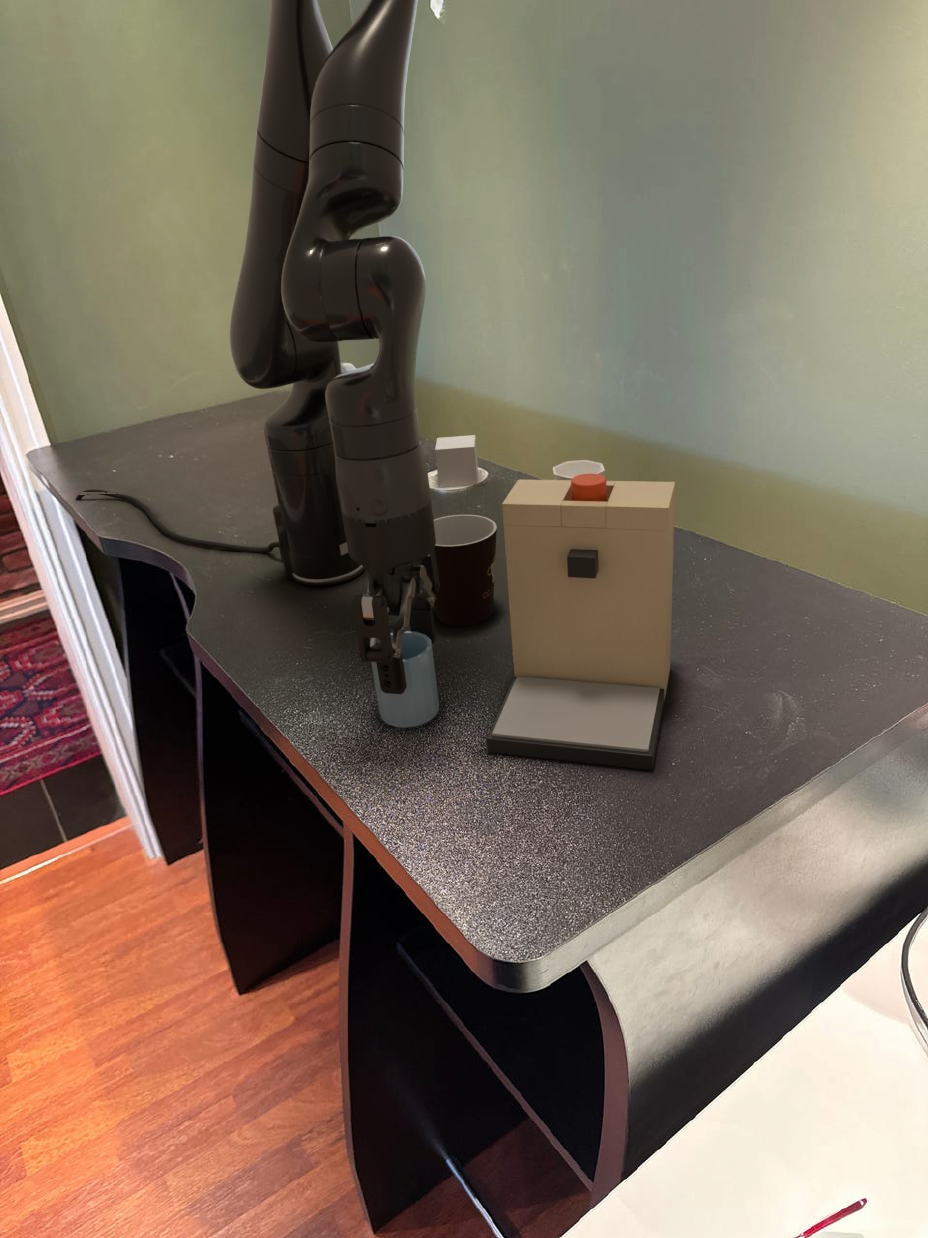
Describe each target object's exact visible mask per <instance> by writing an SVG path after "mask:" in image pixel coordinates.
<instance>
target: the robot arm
mask: <svg viewBox="0 0 928 1238" xmlns="http://www.w3.org/2000/svg"><path fill="white" fill-rule="evenodd" d="M418 3H419V1H418V0H368V1H367V2H366V4H365V5H364V7H363V9H362V10H361V12H360V13H359V15H358V16H357V17H356V19H355V20H354V21H353V22H352V24H351V26H350V27H349V28H348V29H347V30H346V32H345V33H344V34H343V35H342V37H341V38H340V39H339V40H338V41H337V43H336V44H335V46H334V47H333V45H332V43H331V40H330V35H329V33H328V31H327V27H326V23H325V19H324V16H323V13H322V9H321V5H320V0H271V1H270V14H269V27H268V37H267V38H268V39H267V45H266V55H265V63H264V72H263V80H262V87H261V95H260V103H259V108H258V116H257V122H256V132H255V133H256V134H255V142H254V143H255V144H254V154H253V165H252V181H251V182H252V183H251V194H250V195H251V197H250V205H249V215H248V221H247V222H248V224H247V231H246V237H245V245H244V253H243V258H242V261H241V267H240V271H239V276H238V281H237V286H236V291H235V295H234V299H233V300H234V301H233V305H232V311H231V317H230V325H229V345H230V352H231V358H232V361H233V363H234V364H233V365H234V367H235V370H236V371H237V374H238V375H239V377H240V378H241V379H242V380H243V382H244V383H246V384H247V385H248V386H250V387H252V388H254V389H258V390H268V389H277V388H281V387H284V386H287V385H292V388H291V390H290V393H289V394H288V396H287V397H286V399H285V400H284V401H283V402H282V403H281V405H280V406H278V407H277V409H275V410H274V411H273V412H271V413H270V414H269V415H268V416H267V417H266V419H265V420H264V422H263V433H264V434H263V435H264V439H265V444H266V449H267V453H268V454H267V455H268V458H269V463H270V469H271V473H272V478H273V483H274V488H275V493H276V494H275V495H276V498H277V504H275V505H274V507H273V508H272V514H273V515H272V516H273V519H274V524H275V528H276V534H277V539H278V541H273V542H270V543H269V544H268V546H263V547H256V546H255V547H253V546H243V545H237V544H230V543H226V542H225V543H223V542H217V541H210V540H205V539H204V540H203V539H198V538H197V539H196V538H192V537H187V536H184V535H180V534H178V533H175V532H173V531H171V530H170V529H169V528H167V527H166V526H164V524H163V523H162V522H160V520H159V519H157V517H156V516H155V515H154V514H153V512H152V511H151V509H150V508H149V507H148V506H147V505H145V504H144V503H143V502H141V501H140V500H138V499H137V498H135V497H134V496H131V495H128V494H123V493H118V492H115V493H116V494H99V496H106V497H110V498H115V499H119V500H120V499H121V500H125V501H128V502H132V503H133V504H135V505H136V506H137V507H138V508H140V509H141V510H143V512H144V513H145V514H146V515H147V517H148V518H149V520H150V521H151V522H152V523H153V524H154V525H155V526H156V527H157V529H159V530H160V531H161V532H162V533H164V534H165V535H166V536H168V537H170V538H172V539H174V540H176V541H180V542H183V543H185V544H190V545H195V546H201V547H208V548H215V549H222V550H228V551H233V552H242V553H255V554H256V553H257V554H266V553H267V554H268V553H271V552H273V550H274V549H275V548H278V551H279V555H280V559H281V562H282V563H283V567H284V572H285V578H286V579H289V580H294V581H295V582H296V583H298V584H301V585H305V586H310V587H311V586H313V587H325V586H331V585H336V584H337V585H338V584H341V583H344V582H347V581H350V580H353V579H354V578H356V577H357V576H359V575H360V574H362V573H363V572H364V571H365V570H367V572H368V575H367V577H368V580H367V590H366V591H367V593H365V594H354V596H353V598H352V608H353V614H354V622H355V628H356V629H355V630H356V637H357V642H358V643H357V644H358V649H359V650H358V651H359V656H360V657H359V658H360V660H361V662H363V663H371V662H376V664H377V670H378V676H379V682H380V688H381V690H382V691H383V692H384V693H390V694H403V693H404V691H405V689H406V688H407V684H406V678H405V671H404V664H403V658H402V654H401V648H402V638H403V633H404V632H406V631H409V629H410V631H413V632H419V633H422V634H425V635H426V636H427V637H429V638H430V639H431V643H432V645H433V644H434V643H435V641H436V640H437V635H436V634H437V633H436V628H435V627H436V626H435V618H434V611H433V607H435V606H434V603H435V597H434V594H433V592H438V591H439V588H440V583H439V576H438V570H437V563H436V556H435V549H434V547H435V544H436V536H435V528H434V512H433V505H432V496H431V489H430V479H429V473H428V467H427V462H426V458H425V455H424V449H423V446H422V441H421V439H422V438H421V432H420V423H419V415H418V409H417V408H418V407H417V399H416V367H417V354H418V344H419V338H420V332H421V327H422V320H423V313H424V309H425V303H426V302H425V300H426V289H427V288H426V287H427V284H426V274H425V269H424V266H423V263H422V261H421V258H420V256H419V255H418V253H417V252H416V250H415V249H414V248H413V246H412V245H411V244H410V243H409V242H407V241H406V240H405V239H403V238H401V237H398V236H396V235H381V236H371V237H359V238H352V237H353V236H354V235H355V234H357V233H359V232H360V231H362V230H364V229H366V228H369V227H371V226H373V225H376V224H378V223H381V222H383V221H385V220H388V219H389V218H390V217H392V216H393V215H394V214H395V213H396V212H397V211H398V210H399V208H400V205H401V204H402V200H403V195H404V165H405V164H404V163H405V161H404V159H405V108H406V107H405V105H406V91H407V90H406V89H407V80H408V72H409V71H408V70H409V63H410V56H411V49H412V43H413V35H414V30H415V23H416V17H417V9H418ZM363 340H378V343H379V350H378V355H377V357H376V359H375V361H374V362H372V363H369V364H368V365H365V366H361V367H356V368H357V369H354V370H350V371H347V372H344V373H342V371H341V363H342V362H341V352H340V344H339V343H340V342H348V341H349V342H350V341H363ZM82 492H105V493H107V492H110V491H108V490H103V489H94V488H93V489H86V490H83V491H82ZM79 494H80V493H78V494H77V495H76V497H75V501H81V500H82V499H83V498H84V497H85V496H88V495H89V494H87V495H79ZM426 571H428V573H429V578H430V579H429V578H428V576H427V574H426ZM389 616H390V617H391V616H392V617H398V618H397V619H396V620H389V619H390V617H389ZM391 632H392V633H393V637H392V642H391V634H390V633H391Z"/></svg>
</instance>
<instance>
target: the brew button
mask: <svg viewBox="0 0 928 1238" xmlns="http://www.w3.org/2000/svg"><path fill="white" fill-rule="evenodd" d="M606 481H607V477H606V476H605V475H604V476H603V475H600V474H581V475H577V476H575V477H573V478H572V479H571V495H572V501H599V502H607V485H606Z"/></svg>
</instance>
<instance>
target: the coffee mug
mask: <svg viewBox="0 0 928 1238" xmlns="http://www.w3.org/2000/svg"><path fill="white" fill-rule="evenodd" d="M433 520H434V528H435V536H436V544H435V547H434V549H435V556H436V563H437V570H438V576H439V583H440V588H439V591H438V592H433V594H434V597H435V603H434V606H433V607H434V610H435V614H436V617H437V619H438V620H439V621H440V622H442V623H444V624H446V625H450V626H457V627H458V626H460V627H461V626H462V627H463V626H471V625H476V624H479V623H481V622H484V621H486V620H487V619H489V618H490V617H491V616H492V614H493V612H494V597H495V595H494V594H495V576H496V575H495V573H496V553H497V552H496V551H497V533H498V532H497V531H498V530H497V529H498V527H497V523H496V522H495V521H494V520H492V519H491V518H489V517H486V516H483V515H478V514H453V515H445V516H441V517H437V518H435V519H434V518H433ZM426 575H427V576H428V578H429V573H428V571H426ZM429 579H430V578H429Z"/></svg>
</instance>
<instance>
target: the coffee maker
mask: <svg viewBox="0 0 928 1238" xmlns="http://www.w3.org/2000/svg"><path fill="white" fill-rule="evenodd" d="M606 485H607V502H599V501H572V495H571V480H555V479H517V481H516V482H515V483H514V485H513V487H512V488H511V490H510V491H509V493H508V494H507V496H506V497H505V498H504V500H503V501H502V503H501V510H502V511H501V512H502V523H503V537H504V540H503V541H504V551H505V552H504V553H505V567H506V579H507V581H506V582H507V594H508V605H509V606H508V608H509V621H510V633H511V634H510V635H511V646H512V650H511V651H512V661H513V662H512V663H513V674H514V675H513V678H512V681H511V684H510V685H509V688H508V690H507V692H506V694H505V696H504V699H503V701H502V703H501V706H500V707H499V710H498V712H497V715H496V717H495V719H494V721H493V724H492V726H491V729H490V731H489V732H488V735H487V737H486V746H487V753H491V754H498V755H499V754H500V755H507V756H509V755H510V756H517V757H528V758H535V759H544V760H545V759H546V760H555V761H563V762H572V763H581V764H582V763H583V764H591V765H600V766H608V767H619V768H626V769H627V768H628V769H637V770H644V771H645V770H646V771H653V770H654V764H655V759H656V754H657V753H656V751H657V746H658V741H659V735H660V730H661V723H662V717H663V713H664V707H665V700H666V695H667V690H668V689H667V688H668V684H669V677H670V673H671V672H670V671H671V658H672V657H671V655H672V619H673V618H672V617H673V616H672V615H673V584H674V583H673V581H674V580H673V577H674V576H673V575H674V545H675V544H674V542H675V539H674V538H675V507H676V505H675V503H676V502H675V501H676V481H640V480H639V481H636V480H635V481H634V480H633V481H632V480H606Z"/></svg>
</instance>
